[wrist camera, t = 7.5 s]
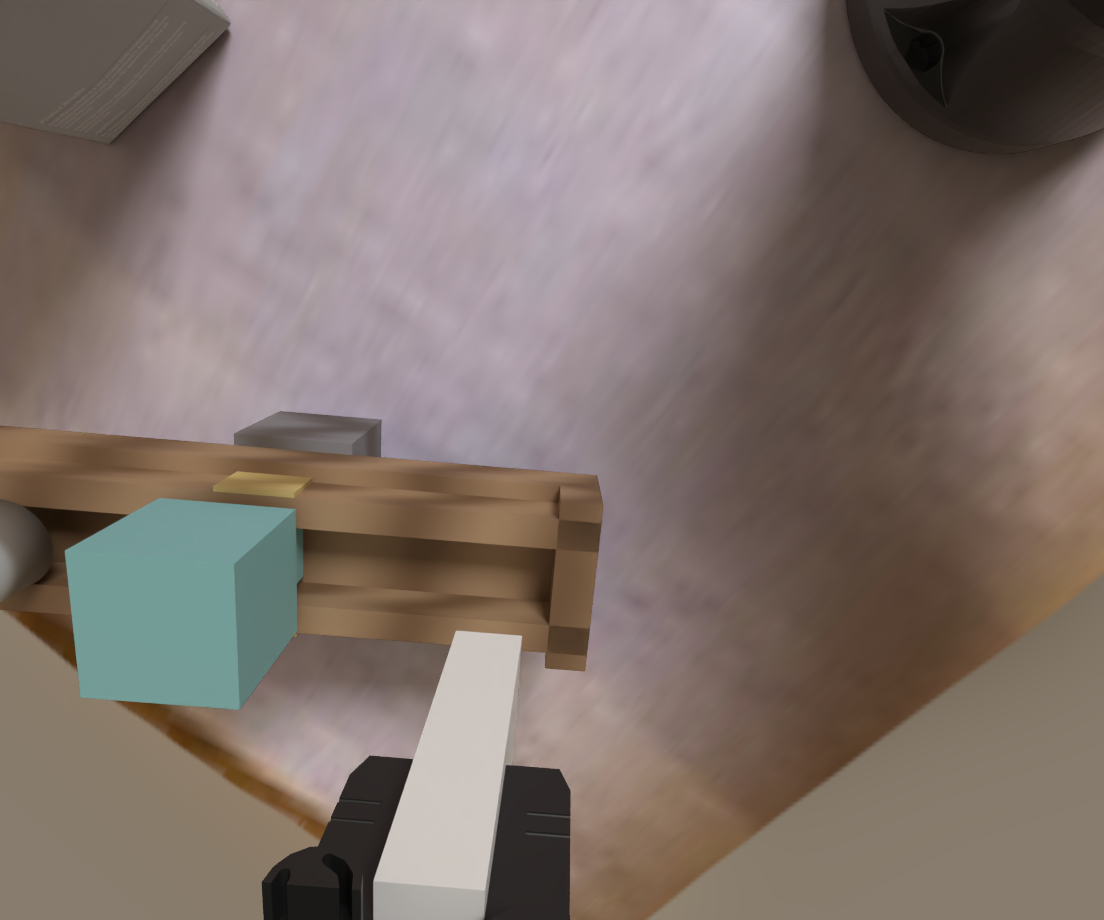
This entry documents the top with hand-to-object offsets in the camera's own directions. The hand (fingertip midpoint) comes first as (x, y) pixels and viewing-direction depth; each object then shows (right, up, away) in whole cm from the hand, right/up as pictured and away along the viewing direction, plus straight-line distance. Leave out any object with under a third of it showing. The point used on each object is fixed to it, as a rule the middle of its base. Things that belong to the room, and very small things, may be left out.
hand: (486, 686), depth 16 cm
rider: (-11, +2, +12) cm, 16 cm away
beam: (-10, +3, +19) cm, 22 cm away
